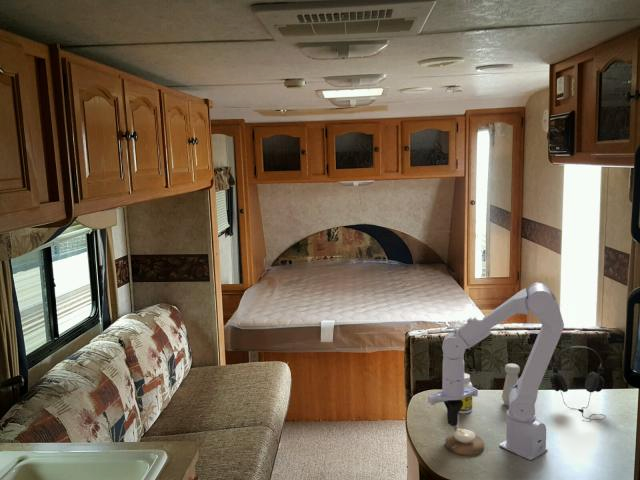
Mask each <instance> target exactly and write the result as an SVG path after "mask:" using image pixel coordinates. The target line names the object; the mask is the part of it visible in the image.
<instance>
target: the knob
mask: <svg viewBox="0 0 640 480" xmlns="http://www.w3.org/2000/svg"><path fill="white" fill-rule="evenodd" d="M459 416H460V415H459V414H458V423H457V426H453V431H454V432H453V433H454V438H455V439H456V440H458V441H460V442H465V443H468V442H473V441H474V440H475V435H476V433H475V432H474V431H472V430H470V429H464V428H460V427H459V425H460V419H459V418H460V417H459Z"/></svg>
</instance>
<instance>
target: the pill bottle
mask: <svg viewBox="0 0 640 480" xmlns="http://www.w3.org/2000/svg"><path fill="white" fill-rule="evenodd" d="M470 387H473V383H472V382H471V375H470V374H469V373H466V372H464V388H470ZM460 400H461V401H462V402H463V406H462V408H461V409H460V411H459V413H458V414H464V415H465V414H469V413H471V412H472V411H473V396H470V397H465V398H463V399H460Z"/></svg>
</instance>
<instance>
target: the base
mask: <svg viewBox="0 0 640 480" xmlns="http://www.w3.org/2000/svg"><path fill="white" fill-rule="evenodd" d="M445 447H446V449H447V450H448V451H450V452H451V453H452V454H456V455H459V456H463V457H464V456H465V457H472V456H473V457H474V456H478V455H480V454H481V453H483V452H484V450H485V442H484V440H483V438H481V437H480V436H478V435H476V434H475V440H474V441H473V442H468V443H465V442H460V441H458V440H456V439H455V438H454V432H453V433H451V434H449V435H447V436H446V437H445Z"/></svg>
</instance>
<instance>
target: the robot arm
mask: <svg viewBox="0 0 640 480" xmlns="http://www.w3.org/2000/svg"><path fill="white" fill-rule="evenodd" d="M529 311H530V312H531V313H532V314H533V315H534V316H535V317H537V319H538V320H539V322H540V324H541V327H540V330H539V332H538V334H537V336H536V339H535V342H534V343H533V346H532V348H531V351H530V354H529V355H528V358H527V361H526V362H525V366H524V368H523V370H522V374H521V375H520V377H518V380H517V383H516V384H515V385H514V386H513V387H512V388H511V389H510V390H509V393H508V397H509V407H508V409H507V410H506V426H505V427H506V428H505V429H506V434H505V435H506V436H505V439H506V440H503V442H500V443H499V447H500V448H503V449H505V450H507V451H509V452H512V453H514V454H516V455H518V456H520V457H522V458H525V459H527V460H530V461H532V460H534V459H536V458H537V457H539V456H540V455H542V454H543V453H545V452H547V451H548V447H547V427H546V424H545V423H544V422H541V420H539V419H538V418H537V415H536V406H535V405H536V401H537V398H538V393H539V388H540V386H541V383H542V381H543V378H544V376H545V373H546V371H547V369H548V367H549V364H550V361H551V358H552V357H553V355H554V352H555V350H556V347H557V345H558V344H559V340H560V338H561V335H562V334H563V333H562V332H563V330H564V327H565V323H564V320H563V316H562V313H561V312H562V311H561V308H560V306H559V303H558V301H557V298H556V296H555V294H554V293H553V292H552V290H551V289H550V287H549V286H547V285H546V284H545V283H542V282H535V283H532V284H530V285H529V286H528V287H527V288H526V287H525V288H523V289H521V290H520V291H518V292H517V293H515V294H514V295H513V296H511V297H510V298H508V299H507V300H506V301H504V302H503V303H502V304H500V305H499V306H497V307H496V308H495V309H493V310H492V311H490V312H489V313H488V314H487V315H485V316H484V317H479V316H476V317H474V318H472V317H469V318H468V319H467V320H466V323H465V324H463V325H462V326H460V327H459V328H454V329H453V330H452V331H451V332H448V333H447V334H445V336H444V339H443V341H442V345H441V348H442V353H443V354H442V357H443V358H442V385H441V386H442V389H441V390H440V391H437V392H435V393H433V394H430V395H427V403H428V404H429V405H431V406H434V405H436V404H438V403H443V404H444V405H445V407H446V411H447V415H446V416H447V418H446V419H447V424H448V425H450V427H454V426H457V423H458V415H459V414H460V413H459V411H460V409H461V408H462V406H463V402H462V401H461V400H460V399H463V398H465V397H470V396H472V397H474V398H475V397H479V396H478V394H479V392H478V389H477V388H476V387H474V386H472V387H470V388H464V373H465V360H464V358H465V357H464V356H465V355H464V354H465V352H466V350H467V349H470V348H472V347H474V346H475V345H476V344H478V343H479V342H481V341H483V340H484V339H485V338H487V337H489V336H490V333H491V329H492V328H494V327H495V326H497V325H499V324H501V323H503V322H504V321H505V320H507V319H509V318H511V317H512V316H515V315H516V314H520V315H529V314H530V313H529Z"/></svg>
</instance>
